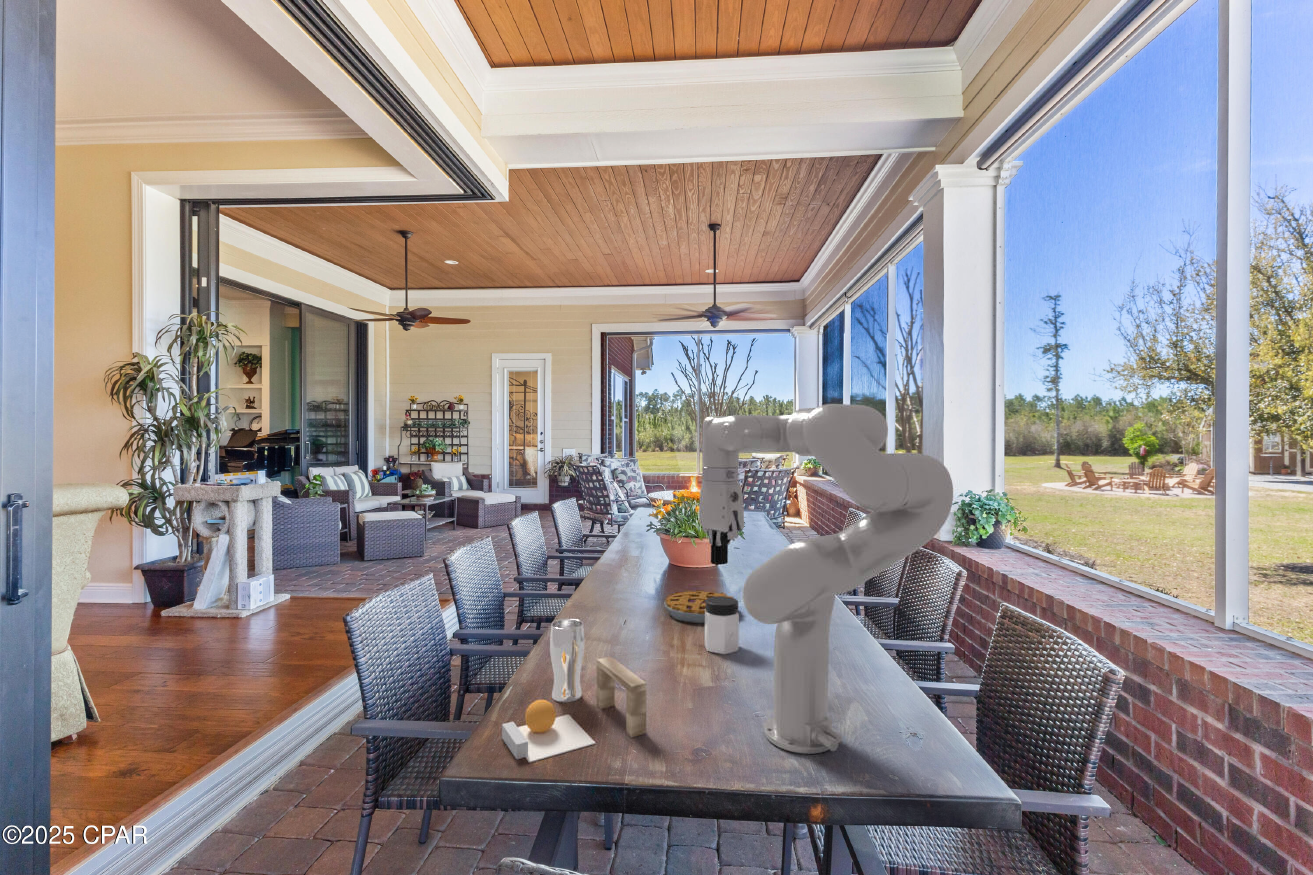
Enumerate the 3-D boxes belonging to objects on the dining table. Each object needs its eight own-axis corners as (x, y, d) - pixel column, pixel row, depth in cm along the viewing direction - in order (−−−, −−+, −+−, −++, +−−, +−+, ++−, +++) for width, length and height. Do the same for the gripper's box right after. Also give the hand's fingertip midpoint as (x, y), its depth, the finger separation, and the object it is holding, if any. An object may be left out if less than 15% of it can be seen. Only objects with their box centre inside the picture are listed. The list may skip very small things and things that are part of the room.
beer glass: (568, 706, 121) (569, 631, 121) (542, 698, 125) (542, 624, 124) (590, 693, 127) (591, 621, 127) (564, 685, 131) (565, 616, 130)
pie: (668, 601, 195) (668, 585, 194) (738, 604, 191) (738, 589, 191) (659, 623, 173) (659, 606, 173) (737, 627, 170) (737, 610, 170)
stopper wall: (528, 756, 103) (528, 741, 103) (516, 759, 102) (516, 744, 102) (513, 735, 110) (513, 721, 110) (502, 737, 109) (502, 724, 109)
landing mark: (595, 743, 107) (595, 742, 107) (529, 762, 101) (529, 761, 101) (568, 715, 118) (568, 714, 118) (506, 730, 111) (506, 729, 111)
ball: (535, 744, 109) (563, 727, 111) (525, 719, 107) (554, 703, 109) (527, 728, 114) (554, 712, 116) (517, 703, 112) (545, 688, 114)
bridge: (610, 701, 123) (610, 656, 123) (646, 733, 111) (646, 682, 111) (596, 704, 122) (596, 659, 122) (631, 737, 110) (631, 686, 109)
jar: (717, 656, 148) (718, 607, 148) (697, 646, 155) (697, 599, 154) (745, 649, 153) (746, 601, 152) (724, 639, 160) (725, 594, 159)
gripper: (757, 477, 123) (756, 569, 123) (713, 472, 136) (712, 555, 136) (728, 479, 119) (726, 573, 119) (685, 473, 132) (684, 558, 132)
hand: (719, 563), depth 128 cm, fingers closed
